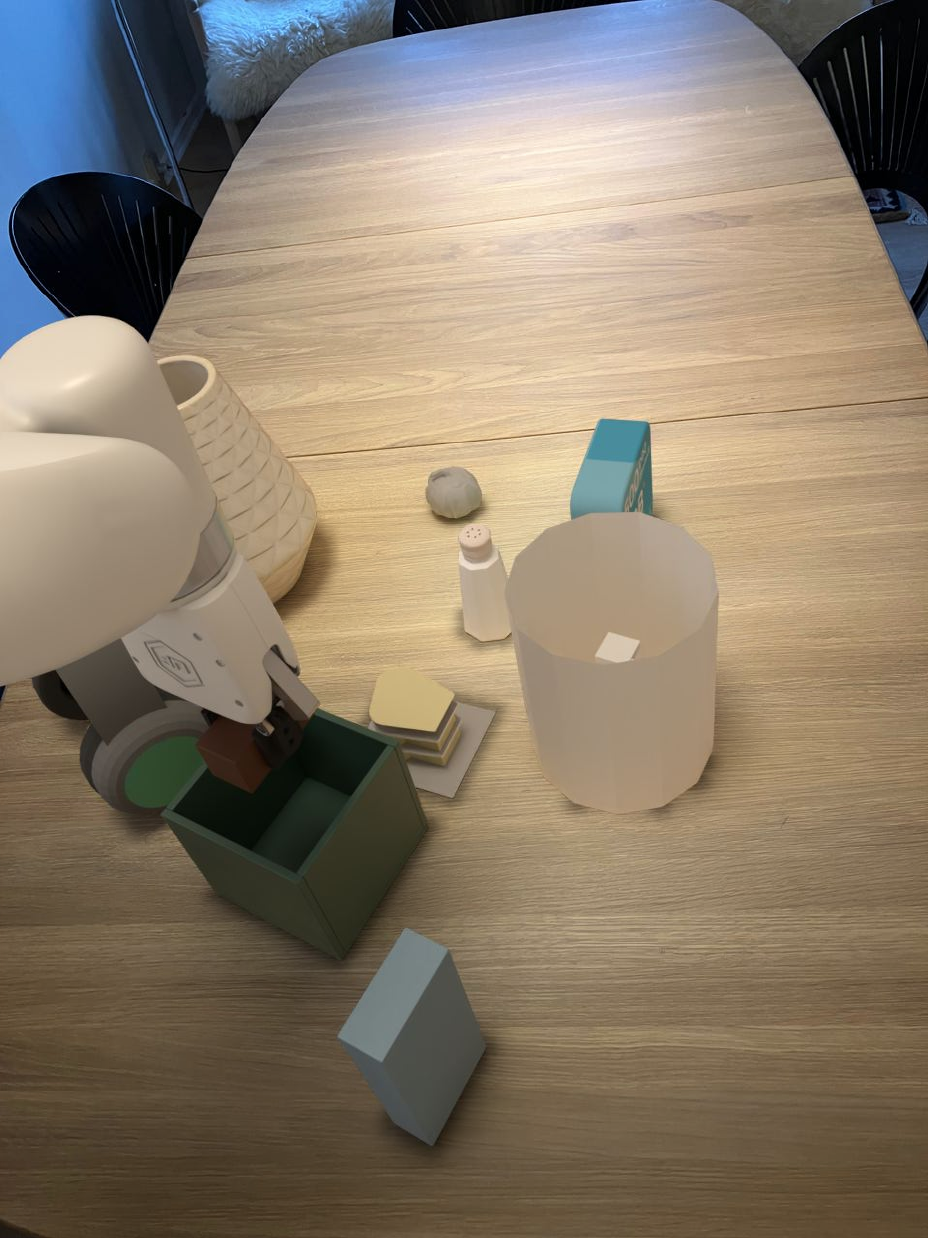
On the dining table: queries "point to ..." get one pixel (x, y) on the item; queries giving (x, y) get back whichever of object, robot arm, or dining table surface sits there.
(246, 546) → the vase
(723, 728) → the dining table surface
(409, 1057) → the grey-blue rectangular block
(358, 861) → the bin
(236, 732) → the reddish brown block
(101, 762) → the headphones
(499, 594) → the pepper shaker
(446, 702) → the stacked layers on plate
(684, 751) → the container
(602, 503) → the teal box
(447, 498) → the garlic
